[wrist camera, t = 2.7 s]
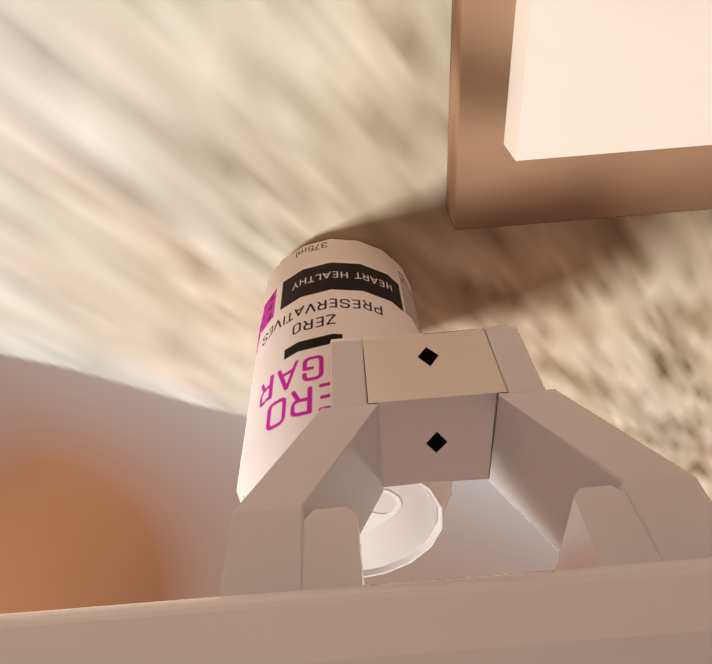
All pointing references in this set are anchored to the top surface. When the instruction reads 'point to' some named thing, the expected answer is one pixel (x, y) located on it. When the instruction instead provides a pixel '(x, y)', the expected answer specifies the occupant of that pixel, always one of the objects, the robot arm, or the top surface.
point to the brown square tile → (551, 175)
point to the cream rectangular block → (609, 77)
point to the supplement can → (312, 378)
